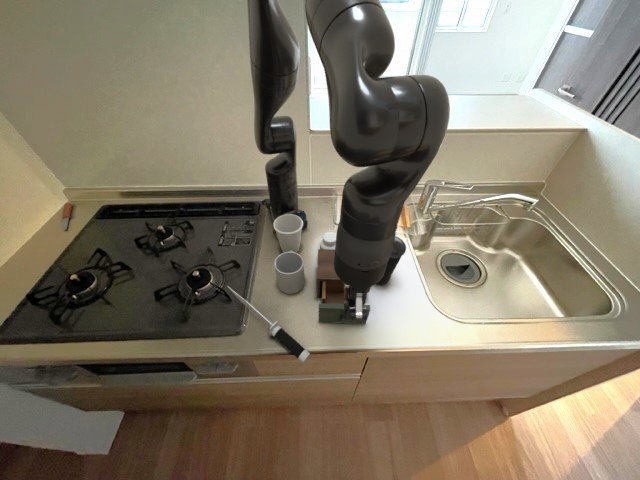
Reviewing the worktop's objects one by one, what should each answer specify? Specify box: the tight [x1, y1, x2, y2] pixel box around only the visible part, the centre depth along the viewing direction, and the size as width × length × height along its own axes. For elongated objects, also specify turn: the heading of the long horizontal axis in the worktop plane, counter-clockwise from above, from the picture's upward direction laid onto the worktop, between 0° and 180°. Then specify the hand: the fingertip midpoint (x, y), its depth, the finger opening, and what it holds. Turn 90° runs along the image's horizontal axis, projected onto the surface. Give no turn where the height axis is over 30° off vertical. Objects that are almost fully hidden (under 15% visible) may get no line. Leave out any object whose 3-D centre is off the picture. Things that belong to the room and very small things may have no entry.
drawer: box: [317, 281, 371, 325], centre depth 61 cm, size 10×11×7 cm
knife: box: [227, 286, 311, 364], centre depth 59 cm, size 26×2×5 cm, turn 52°
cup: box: [274, 251, 305, 295], centre depth 68 cm, size 7×10×9 cm
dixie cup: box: [272, 214, 303, 253], centre depth 76 cm, size 8×8×10 cm
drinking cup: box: [375, 224, 407, 287], centre depth 65 cm, size 8×8×20 cm
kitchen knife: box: [62, 202, 73, 230], centre depth 86 cm, size 16×1×2 cm
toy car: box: [272, 209, 308, 239], centre depth 82 cm, size 6×12×6 cm
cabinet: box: [316, 248, 342, 299], centre depth 67 cm, size 10×13×9 cm
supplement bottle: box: [319, 231, 337, 250], centre depth 73 cm, size 5×5×10 cm
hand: (349, 311), depth 47 cm, fingers closed
